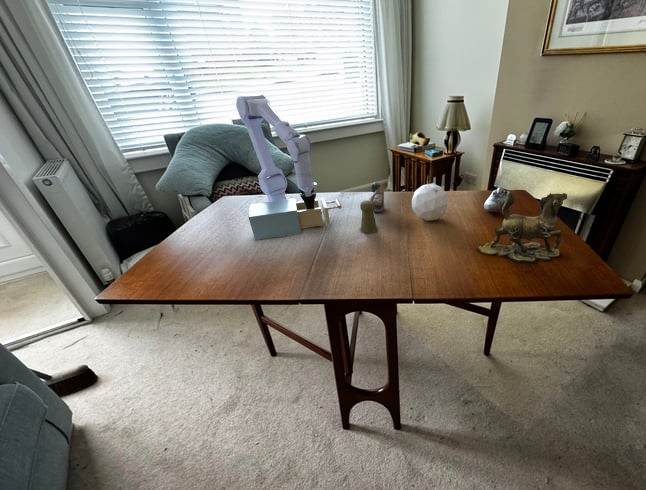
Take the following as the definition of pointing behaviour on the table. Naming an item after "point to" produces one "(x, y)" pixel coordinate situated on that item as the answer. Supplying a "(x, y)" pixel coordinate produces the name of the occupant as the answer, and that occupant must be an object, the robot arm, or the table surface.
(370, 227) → the cork
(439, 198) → the geodesic sphere
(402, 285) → the table surface
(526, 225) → the figurine
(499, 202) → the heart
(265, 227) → the cabinet
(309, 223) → the drawer
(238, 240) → the table surface
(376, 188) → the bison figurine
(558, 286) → the table surface
